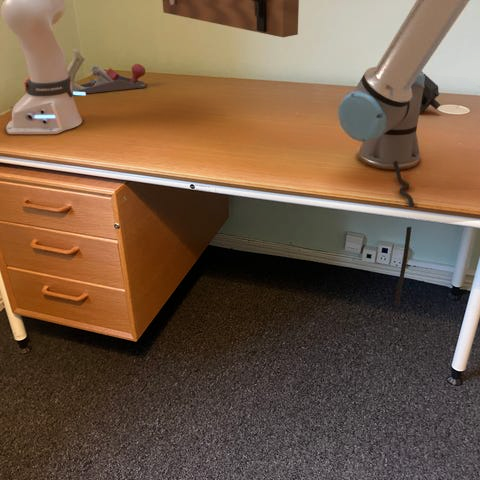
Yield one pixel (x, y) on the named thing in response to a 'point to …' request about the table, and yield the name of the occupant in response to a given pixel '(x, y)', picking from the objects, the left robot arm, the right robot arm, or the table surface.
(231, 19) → the bar
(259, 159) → the table surface
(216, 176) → the table surface
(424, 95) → the tool
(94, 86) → the hand plane
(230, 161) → the table surface
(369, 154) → the right robot arm
